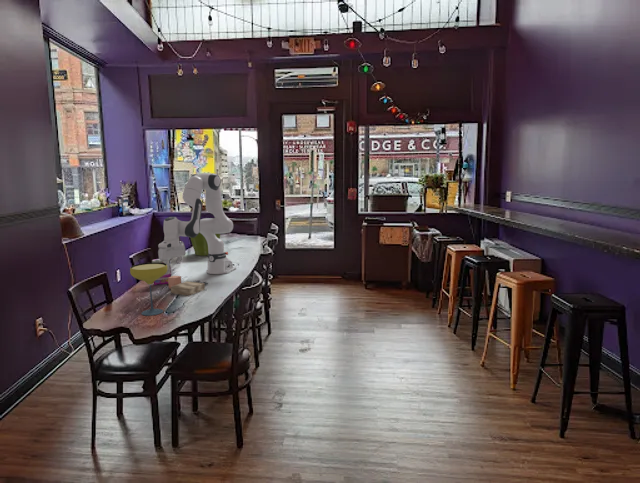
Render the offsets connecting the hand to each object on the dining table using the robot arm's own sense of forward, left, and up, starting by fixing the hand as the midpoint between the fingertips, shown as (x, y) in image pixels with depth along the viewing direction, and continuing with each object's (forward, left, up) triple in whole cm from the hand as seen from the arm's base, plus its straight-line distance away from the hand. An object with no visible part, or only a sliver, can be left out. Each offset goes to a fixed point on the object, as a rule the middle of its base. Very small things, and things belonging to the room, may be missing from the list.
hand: (173, 265), depth 282 cm
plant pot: (-96, -53, -15) cm, 111 cm away
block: (0, 0, -15) cm, 15 cm away
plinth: (+4, +14, -15) cm, 20 cm away
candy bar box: (-4, -14, -15) cm, 21 cm away
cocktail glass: (+43, +24, -15) cm, 51 cm away
